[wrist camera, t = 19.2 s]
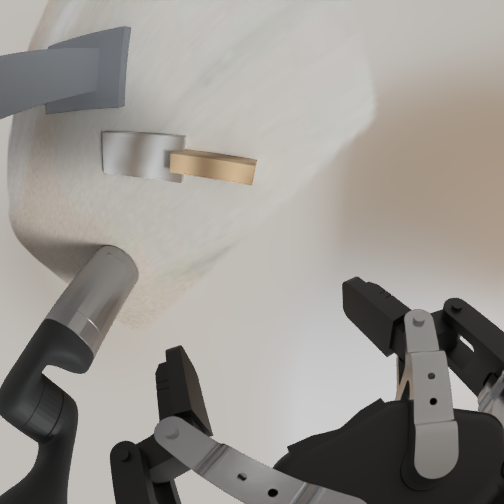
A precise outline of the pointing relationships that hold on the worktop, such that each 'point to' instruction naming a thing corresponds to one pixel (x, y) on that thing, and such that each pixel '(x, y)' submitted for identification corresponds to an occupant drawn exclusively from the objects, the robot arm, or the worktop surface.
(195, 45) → the worktop surface
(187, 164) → the trowel
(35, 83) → the stand
